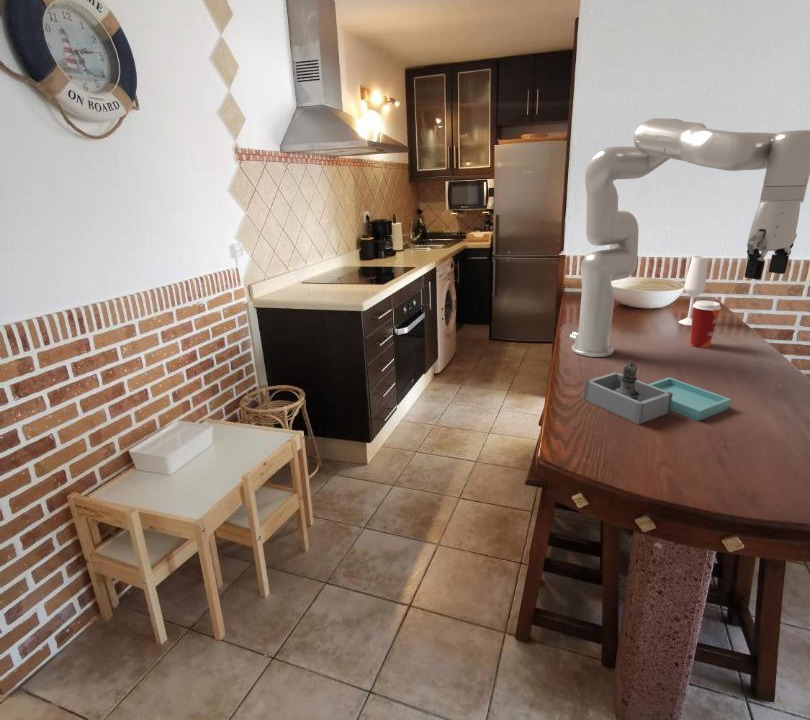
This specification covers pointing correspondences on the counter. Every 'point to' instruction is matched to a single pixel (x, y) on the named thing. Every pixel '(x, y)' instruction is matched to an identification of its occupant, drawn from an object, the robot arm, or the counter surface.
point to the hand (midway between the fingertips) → (764, 275)
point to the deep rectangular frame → (628, 398)
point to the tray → (692, 399)
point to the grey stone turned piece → (629, 381)
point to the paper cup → (703, 323)
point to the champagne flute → (695, 283)
